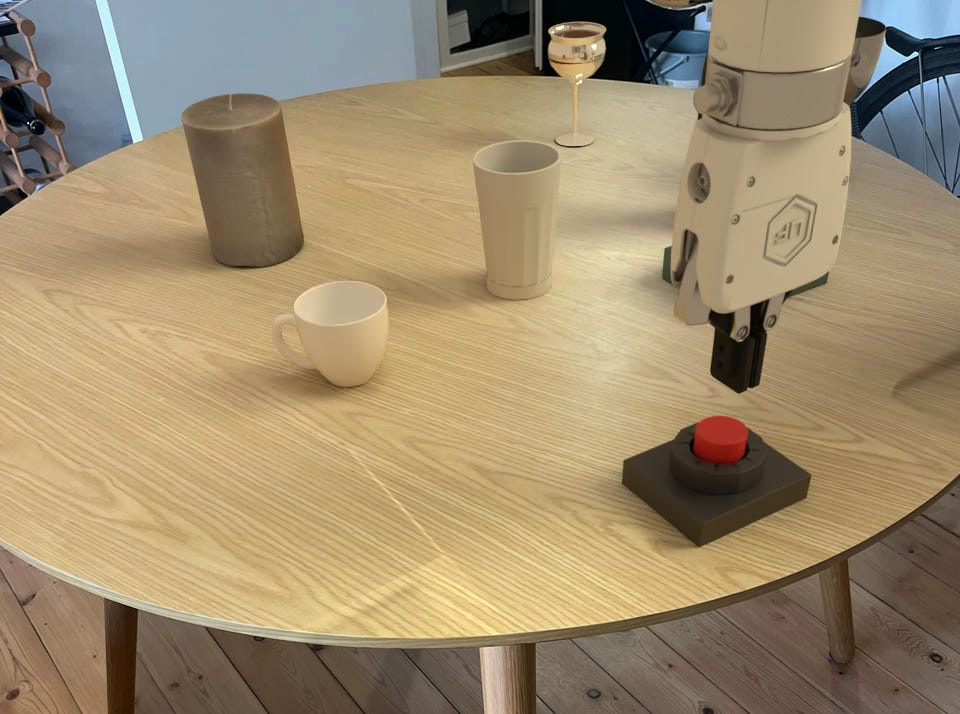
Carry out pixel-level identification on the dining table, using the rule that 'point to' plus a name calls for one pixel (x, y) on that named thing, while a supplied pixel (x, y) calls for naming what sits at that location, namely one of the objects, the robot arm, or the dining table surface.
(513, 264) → the cup
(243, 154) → the pillar candle
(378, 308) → the cup
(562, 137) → the wineglass
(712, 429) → the red button
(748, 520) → the red button base
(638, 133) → the dining table surface
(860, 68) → the metal goblet
